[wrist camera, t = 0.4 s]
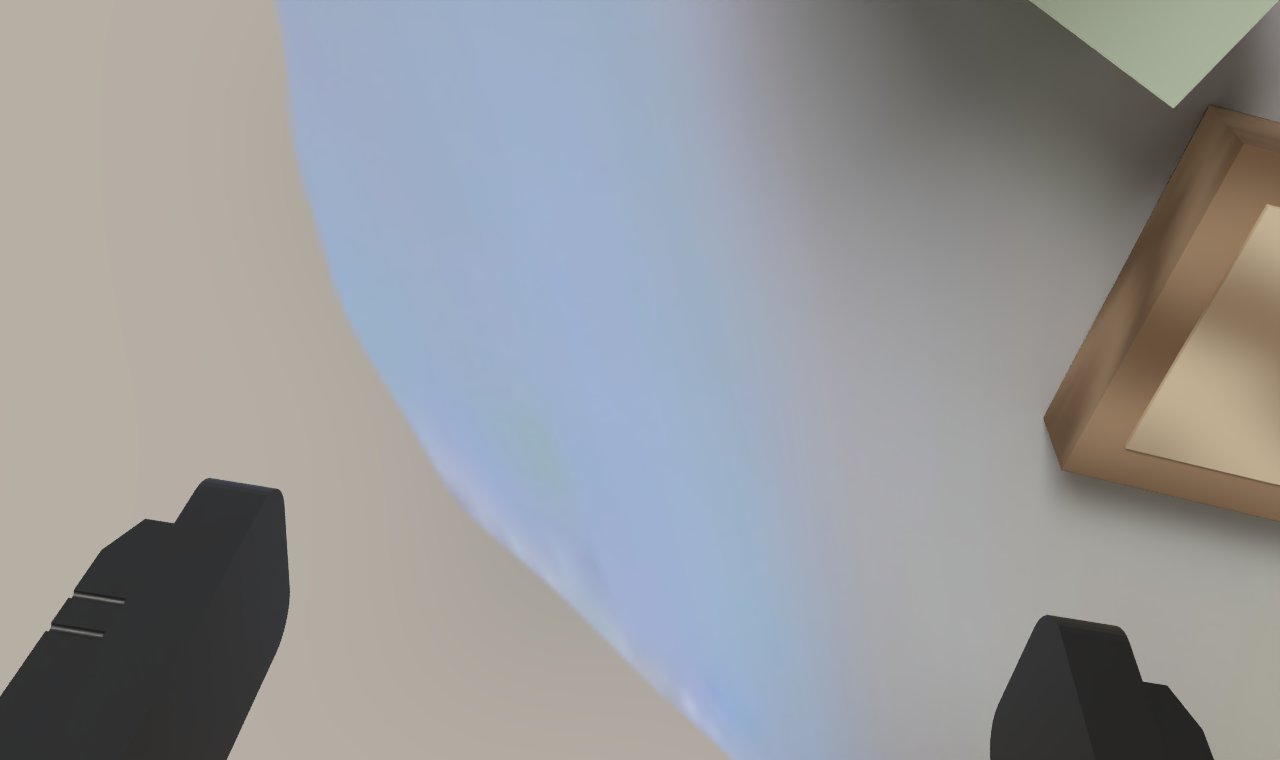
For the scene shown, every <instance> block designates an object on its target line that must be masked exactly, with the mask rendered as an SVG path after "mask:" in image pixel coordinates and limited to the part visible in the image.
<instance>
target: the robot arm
mask: <svg viewBox="0 0 1280 760" xmlns="http://www.w3.org/2000/svg"><path fill="white" fill-rule="evenodd" d="M289 597H290V587H289V570H288V555H287V540H286V525H285V508H284V499H283V495H282V493H281V491H280V490H279V489H274V488H268V487H262V486H256V485H250V484H243V483H237V482H230V481H225V480H219V479H212V478H208V479H205V480H204V481H202V482H201V483H200V484H199V486H198V487H197V488H196V490H195V491H194V493H193V495H192V496H191V498H190V500H189V501H188V503H187V504H186V506H185V507H184V509H183V511H182V512H181V514H180V515H179V517H178V518H177V520H176V522H175V523H168V522H162V521H155V520H149V519H144V520H143V521H142V522H140V523H139V524H137V525H136V526H135V527H133V528H132V529H130V530H129V531H128V532H126V533H125V534H123V535H122V536H121V537H119V538H118V539H116V540H115V541H114V542H112V543H111V544H110V545H108V546H107V547H105V548H104V549H102V550H101V552H100V553H99V554H98V556H97V557H96V559H95V560H94V562H93V563H92V565H91V566H90V568H89V569H88V570H87V572H86V574H85V575H84V576H83V578H82V579H81V581H80V582H79V584H78V585H77V586H76V588H75V589H74V595H73V597H72V598H68V599H67V601H66V602H65V604H64V605H63V606H62V608H61V610H60V611H59V612H58V614H57V616H56V617H55V618H54V620H53V621H52V623H51V629H50V630H49V632H48V631H45V633H44V634H43V636H42V637H41V638H40V640H39V641H38V643H37V644H36V646H35V647H34V649H33V650H32V651H31V653H30V654H29V656H28V657H27V659H26V660H25V662H24V663H23V665H22V666H21V667H20V669H19V670H18V672H17V673H16V674H15V676H14V677H13V679H12V680H11V682H10V683H9V685H8V686H7V687H6V689H5V690H4V692H3V693H2V695H1V696H0V760H227V758H228V756H229V753H230V751H231V749H232V747H233V745H234V743H235V741H236V738H237V736H238V734H239V732H240V730H241V728H242V725H243V723H244V721H245V719H246V717H247V715H248V712H249V710H250V708H251V706H252V704H253V702H254V699H255V697H256V695H257V693H258V691H259V689H260V687H261V684H262V682H263V680H264V678H265V676H266V674H267V671H268V669H269V667H270V665H271V663H272V660H273V658H274V656H275V654H276V652H277V649H278V647H279V644H280V642H281V639H282V635H283V632H284V628H285V624H286V619H287V615H288V608H289ZM990 759H991V760H1214V759H1213V756H1212V753H1211V751H1210V748H1209V745H1208V743H1207V740H1206V737H1205V735H1204V732H1203V730H1202V729H1201V727H1200V726H1199V725H1198V724H1197V722H1196V721H1195V720H1194V719H1193V717H1192V716H1191V715H1190V714H1189V712H1188V711H1187V710H1186V709H1185V707H1184V706H1183V705H1182V704H1181V702H1180V701H1179V700H1178V699H1177V697H1176V696H1175V695H1174V694H1173V692H1172V691H1171V690H1170V689H1169V687H1168V686H1166V685H1160V684H1154V683H1148V682H1143V681H1142V678H1141V675H1140V672H1139V669H1138V666H1137V663H1136V660H1135V658H1134V655H1133V652H1132V649H1131V646H1130V643H1129V640H1128V638H1127V636H1126V634H1125V632H1124V631H1123V630H1122V629H1121V628H1120V627H1118V626H1113V625H1107V624H1101V623H1095V622H1088V621H1082V620H1076V619H1070V618H1063V617H1057V616H1051V615H1045V616H1043V617H1042V618H1041V619H1040V620H1039V621H1038V622H1037V624H1036V626H1035V627H1034V629H1033V632H1032V634H1031V636H1030V638H1029V640H1028V642H1027V644H1026V647H1025V649H1024V651H1023V653H1022V655H1021V657H1020V659H1019V661H1018V664H1017V666H1016V668H1015V670H1014V672H1013V674H1012V676H1011V679H1010V681H1009V683H1008V685H1007V687H1006V689H1005V691H1004V693H1003V696H1002V698H1001V700H1000V702H999V704H998V707H997V709H996V712H995V715H994V720H993V724H992V730H991V740H990Z"/></svg>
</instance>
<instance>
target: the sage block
mask: <svg viewBox="0 0 1280 760" xmlns="http://www.w3.org/2000/svg"><path fill="white" fill-rule="evenodd" d="M1029 1H1031V2H1032V3H1033V4H1035V5H1036V6H1037V7H1039V8H1040V9H1041V10H1043V11H1044V12H1045V13H1047V14H1048V15H1049V16H1051V17H1052V18H1053V19H1055V20H1056V21H1057V22H1059V23H1060V24H1061V25H1063V26H1064V27H1065V28H1067V29H1068V30H1069V31H1071V32H1072V33H1073V34H1075V35H1076V36H1077V37H1079V38H1080V39H1081V40H1083V41H1084V42H1085V43H1087V44H1088V45H1089V46H1091V47H1092V48H1093V49H1095V50H1096V51H1097V52H1099V53H1100V54H1101V55H1103V56H1104V57H1105V58H1107V59H1108V60H1109V61H1111V62H1112V63H1113V64H1115V65H1116V66H1117V67H1119V68H1120V69H1121V70H1123V71H1124V72H1125V73H1127V74H1128V75H1129V76H1131V77H1132V78H1133V79H1135V80H1136V81H1137V82H1139V83H1140V84H1141V85H1143V86H1144V87H1145V88H1147V89H1148V90H1149V91H1151V92H1152V93H1153V94H1155V95H1156V96H1157V97H1159V98H1160V99H1161V100H1163V101H1164V102H1165V103H1167V104H1168V105H1169V106H1171V107H1172V108H1173V109H1174V108H1175V107H1176V106H1177V105H1178V103H1179V102H1180V101H1181V100H1182V99H1183V98H1184V97H1185V96H1186V95H1187V94H1188V93H1189V92H1190V91H1191V90H1192V89H1193V88H1194V87H1195V86H1196V85H1197V84H1198V83H1199V82H1200V81H1201V80H1202V79H1203V78H1204V77H1205V76H1206V75H1207V74H1208V73H1209V72H1210V71H1211V70H1212V69H1213V68H1214V66H1215V65H1216V64H1217V63H1218V62H1219V61H1220V60H1221V59H1222V58H1223V57H1224V56H1225V55H1226V54H1227V53H1228V52H1229V51H1230V50H1231V49H1232V48H1233V47H1234V46H1235V45H1236V44H1237V43H1238V42H1239V41H1240V40H1241V39H1242V38H1243V37H1244V36H1245V35H1246V34H1247V33H1248V32H1249V31H1250V30H1251V28H1252V27H1253V26H1254V25H1255V24H1256V23H1257V22H1258V21H1259V20H1260V19H1261V18H1262V17H1263V16H1264V15H1265V14H1266V13H1267V12H1268V11H1269V10H1270V9H1271V8H1272V7H1273V6H1274V5H1275V4H1276V3H1277V2H1278V1H1279V0H1029Z"/></svg>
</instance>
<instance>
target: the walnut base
mask: <svg viewBox="0 0 1280 760" xmlns="http://www.w3.org/2000/svg"><path fill="white" fill-rule="evenodd" d="M1044 421H1045V424H1046V427H1047V429H1048V432H1049V435H1050V438H1051V441H1052V444H1053V447H1054V449H1055V452H1056V455H1057V458H1058V461H1059V464H1060V467H1061V470H1064V471H1068V472H1073V473H1077V474H1081V475H1085V476H1090V477H1094V478H1098V479H1102V480H1107V481H1111V482H1115V483H1119V484H1123V485H1128V486H1132V487H1136V488H1140V489H1145V490H1149V491H1153V492H1157V493H1162V494H1166V495H1170V496H1174V497H1178V498H1183V499H1187V500H1191V501H1195V502H1200V503H1204V504H1208V505H1212V506H1216V507H1221V508H1225V509H1229V510H1233V511H1238V512H1242V513H1246V514H1250V515H1255V516H1259V517H1263V518H1267V519H1271V520H1276V521H1280V123H1278V122H1274V121H1270V120H1266V119H1262V118H1259V117H1255V116H1251V115H1247V114H1243V113H1239V112H1235V111H1231V110H1227V109H1223V108H1220V107H1216V106H1212V105H1209V107H1208V109H1207V110H1206V112H1205V114H1204V116H1203V118H1202V120H1201V122H1200V124H1199V126H1198V127H1197V129H1196V131H1195V133H1194V135H1193V137H1192V139H1191V141H1190V143H1189V144H1188V146H1187V148H1186V150H1185V152H1184V154H1183V156H1182V158H1181V160H1180V161H1179V163H1178V165H1177V167H1176V169H1175V171H1174V173H1173V175H1172V176H1171V178H1170V180H1169V182H1168V184H1167V186H1166V188H1165V190H1164V192H1163V193H1162V195H1161V197H1160V199H1159V201H1158V203H1157V205H1156V207H1155V209H1154V210H1153V212H1152V214H1151V216H1150V218H1149V220H1148V222H1147V224H1146V226H1145V227H1144V229H1143V231H1142V233H1141V235H1140V237H1139V239H1138V241H1137V242H1136V244H1135V246H1134V248H1133V250H1132V252H1131V254H1130V256H1129V258H1128V259H1127V261H1126V263H1125V265H1124V267H1123V269H1122V271H1121V273H1120V275H1119V276H1118V278H1117V280H1116V282H1115V284H1114V286H1113V288H1112V290H1111V292H1110V293H1109V295H1108V297H1107V299H1106V301H1105V303H1104V305H1103V307H1102V308H1101V310H1100V312H1099V314H1098V316H1097V318H1096V320H1095V322H1094V324H1093V325H1092V327H1091V329H1090V331H1089V333H1088V335H1087V337H1086V339H1085V341H1084V342H1083V344H1082V346H1081V348H1080V350H1079V352H1078V354H1077V356H1076V358H1075V359H1074V361H1073V363H1072V365H1071V367H1070V369H1069V371H1068V373H1067V374H1066V376H1065V378H1064V380H1063V382H1062V384H1061V386H1060V388H1059V390H1058V391H1057V393H1056V395H1055V397H1054V399H1053V401H1052V403H1051V405H1050V407H1049V408H1048V410H1047V412H1046V414H1045V416H1044Z"/></svg>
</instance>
